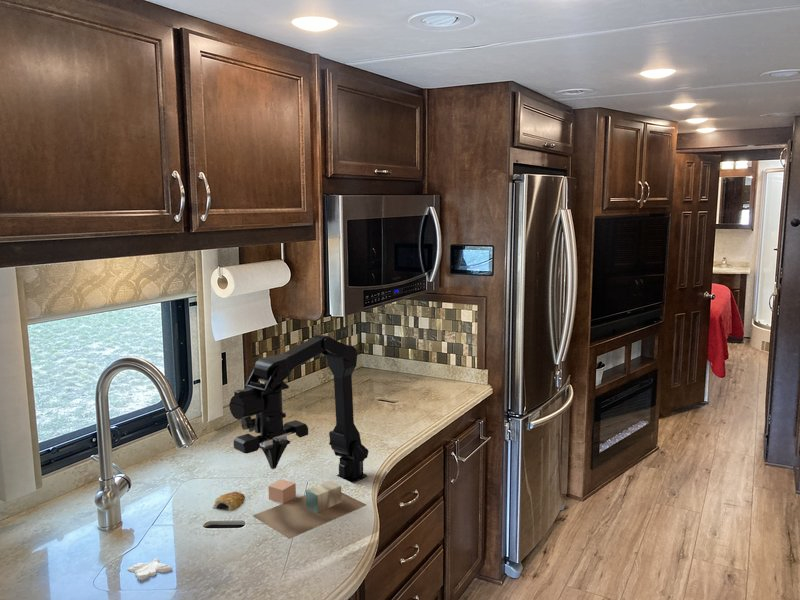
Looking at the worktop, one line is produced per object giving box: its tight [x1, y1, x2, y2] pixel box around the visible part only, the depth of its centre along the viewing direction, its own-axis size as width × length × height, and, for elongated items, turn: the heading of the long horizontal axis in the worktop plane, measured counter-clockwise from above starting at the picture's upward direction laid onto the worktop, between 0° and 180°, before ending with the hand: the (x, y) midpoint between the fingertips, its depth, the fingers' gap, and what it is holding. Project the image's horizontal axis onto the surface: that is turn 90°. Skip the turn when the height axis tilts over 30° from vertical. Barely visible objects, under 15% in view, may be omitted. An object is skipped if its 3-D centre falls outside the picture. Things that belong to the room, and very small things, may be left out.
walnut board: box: [252, 491, 367, 539], centre depth 163 cm, size 24×16×1 cm, turn 134°
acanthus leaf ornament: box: [126, 557, 173, 581], centre depth 139 cm, size 8×7×2 cm
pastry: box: [212, 491, 245, 511], centre depth 168 cm, size 9×7×4 cm
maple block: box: [305, 480, 342, 513], centre depth 165 cm, size 4×4×8 cm
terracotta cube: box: [267, 478, 297, 504], centre depth 170 cm, size 5×5×5 cm
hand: (273, 468), depth 162 cm, fingers closed
